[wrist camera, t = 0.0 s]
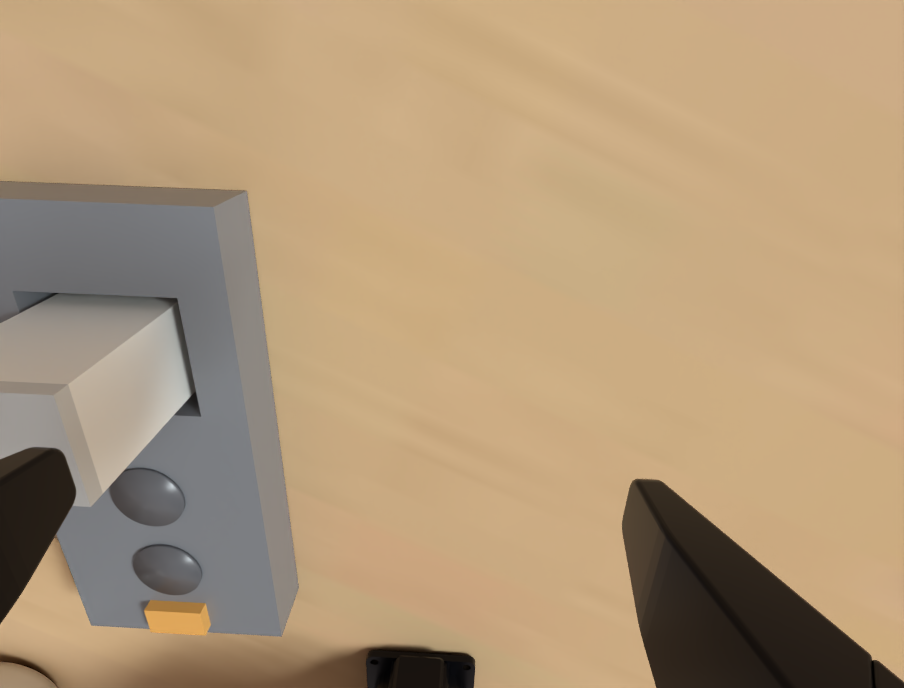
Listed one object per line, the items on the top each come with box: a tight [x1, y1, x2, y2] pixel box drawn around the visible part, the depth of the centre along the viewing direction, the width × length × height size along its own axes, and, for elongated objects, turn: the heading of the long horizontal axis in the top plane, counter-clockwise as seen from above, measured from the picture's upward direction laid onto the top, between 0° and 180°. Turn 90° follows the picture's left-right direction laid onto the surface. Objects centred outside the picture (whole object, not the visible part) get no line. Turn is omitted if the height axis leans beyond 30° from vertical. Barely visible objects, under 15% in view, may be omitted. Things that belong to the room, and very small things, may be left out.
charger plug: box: [0, 293, 196, 507], centre depth 20 cm, size 4×5×9 cm
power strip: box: [0, 181, 299, 637], centre depth 25 cm, size 22×10×4 cm, turn 178°
